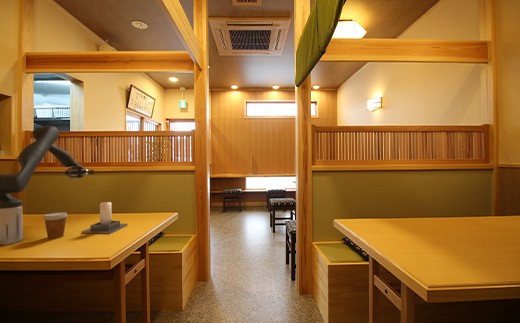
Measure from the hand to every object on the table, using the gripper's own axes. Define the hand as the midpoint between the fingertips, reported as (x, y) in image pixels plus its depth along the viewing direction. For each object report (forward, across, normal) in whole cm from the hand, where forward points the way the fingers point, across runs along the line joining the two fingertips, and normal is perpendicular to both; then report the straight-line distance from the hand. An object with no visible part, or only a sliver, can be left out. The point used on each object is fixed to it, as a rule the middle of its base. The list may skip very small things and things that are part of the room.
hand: (80, 172), depth 144 cm
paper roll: (+17, +10, +31) cm, 37 cm away
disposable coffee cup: (+15, -12, +33) cm, 38 cm away
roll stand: (+17, +10, +32) cm, 38 cm away
